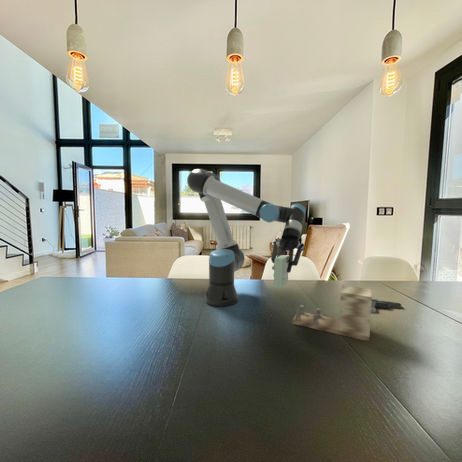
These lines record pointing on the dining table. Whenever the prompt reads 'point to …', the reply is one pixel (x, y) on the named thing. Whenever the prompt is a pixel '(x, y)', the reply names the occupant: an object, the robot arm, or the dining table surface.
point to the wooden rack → (343, 315)
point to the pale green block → (280, 271)
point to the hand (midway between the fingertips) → (279, 277)
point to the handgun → (383, 305)
